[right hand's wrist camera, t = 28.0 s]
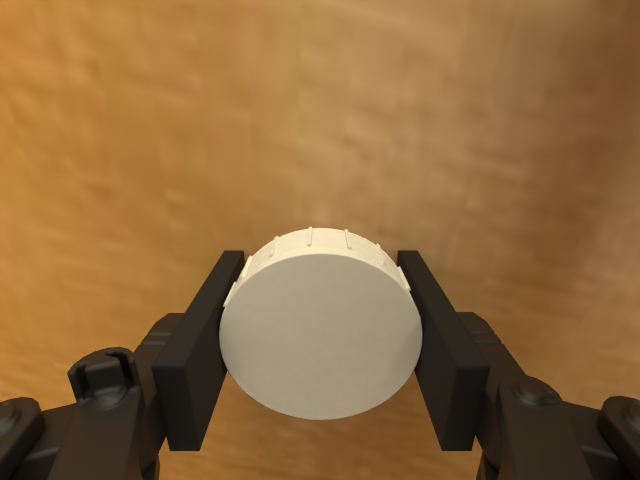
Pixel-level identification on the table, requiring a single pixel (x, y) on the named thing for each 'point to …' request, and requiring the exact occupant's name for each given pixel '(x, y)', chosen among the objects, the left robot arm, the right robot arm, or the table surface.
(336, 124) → the table surface
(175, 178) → the table surface
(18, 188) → the table surface
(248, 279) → the lid
